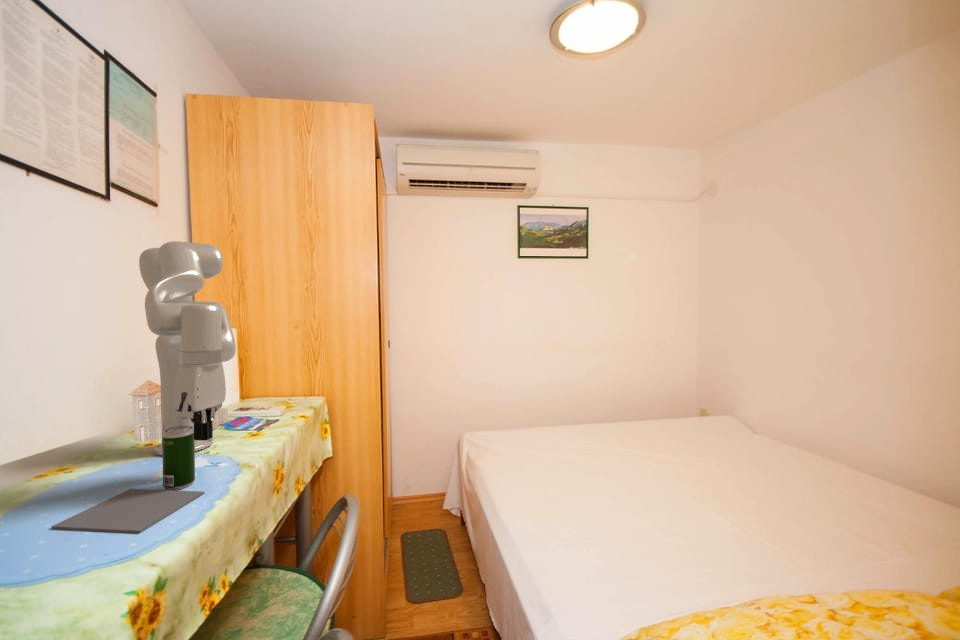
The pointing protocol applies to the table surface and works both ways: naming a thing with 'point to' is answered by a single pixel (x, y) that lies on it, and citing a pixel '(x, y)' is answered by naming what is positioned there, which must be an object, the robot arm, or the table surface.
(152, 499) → the mat
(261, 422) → the table surface
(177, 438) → the green soda can
